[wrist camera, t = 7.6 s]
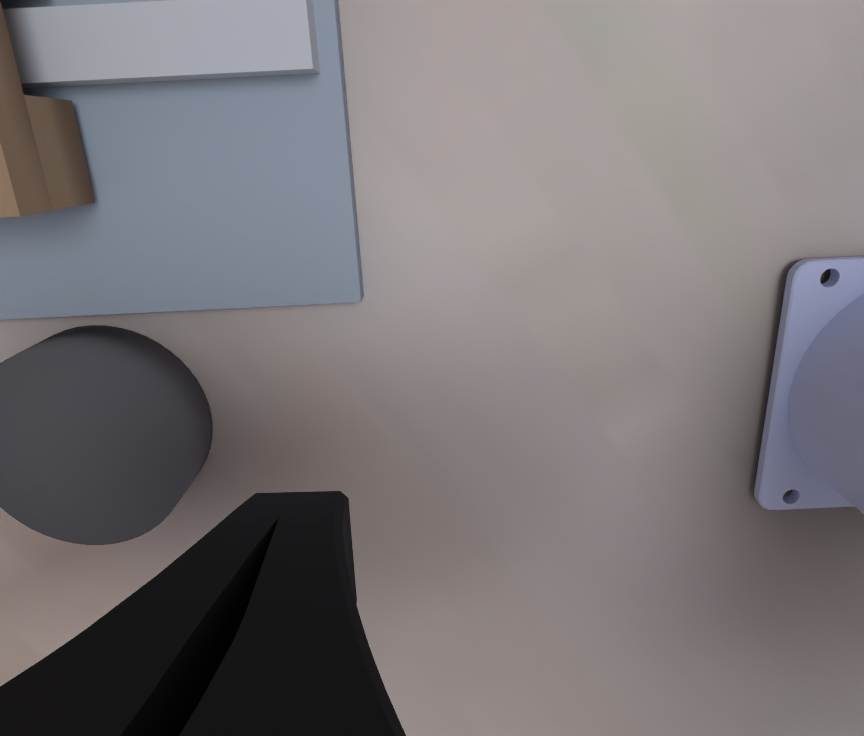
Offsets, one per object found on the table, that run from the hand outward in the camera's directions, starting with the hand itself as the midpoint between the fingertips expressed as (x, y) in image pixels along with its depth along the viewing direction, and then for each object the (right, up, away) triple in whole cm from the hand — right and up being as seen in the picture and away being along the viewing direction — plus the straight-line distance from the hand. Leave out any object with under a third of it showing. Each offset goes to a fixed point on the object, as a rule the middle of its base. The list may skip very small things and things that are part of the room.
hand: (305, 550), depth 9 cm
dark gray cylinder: (-8, +1, +10) cm, 13 cm away
